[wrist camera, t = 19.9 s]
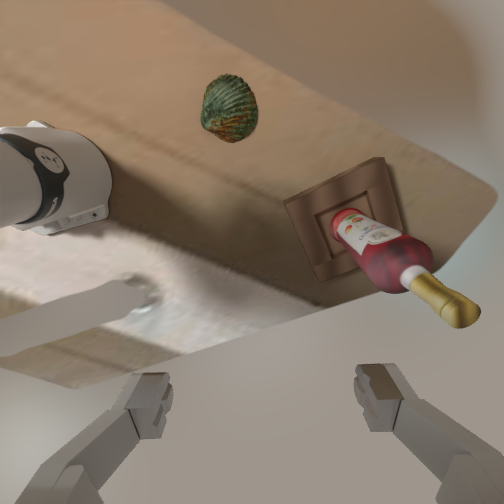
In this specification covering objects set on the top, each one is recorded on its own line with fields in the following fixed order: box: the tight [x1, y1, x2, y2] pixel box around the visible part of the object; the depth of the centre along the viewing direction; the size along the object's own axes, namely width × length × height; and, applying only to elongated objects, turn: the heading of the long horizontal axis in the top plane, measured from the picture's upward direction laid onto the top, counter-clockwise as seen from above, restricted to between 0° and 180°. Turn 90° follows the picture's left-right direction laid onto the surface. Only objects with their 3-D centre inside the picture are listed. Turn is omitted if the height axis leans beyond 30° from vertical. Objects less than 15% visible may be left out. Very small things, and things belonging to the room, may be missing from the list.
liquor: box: [329, 208, 481, 328], centre depth 33 cm, size 7×7×28 cm
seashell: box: [201, 74, 258, 143], centre depth 39 cm, size 10×4×10 cm
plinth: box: [283, 157, 404, 283], centre depth 46 cm, size 18×18×4 cm
